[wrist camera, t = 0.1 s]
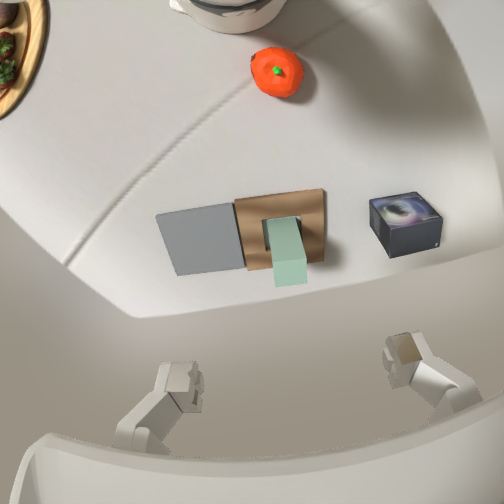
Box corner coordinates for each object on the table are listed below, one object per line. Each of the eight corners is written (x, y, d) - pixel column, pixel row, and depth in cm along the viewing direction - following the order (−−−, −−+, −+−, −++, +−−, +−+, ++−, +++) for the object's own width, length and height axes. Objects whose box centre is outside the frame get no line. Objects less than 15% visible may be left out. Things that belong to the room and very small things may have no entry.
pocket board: (234, 199, 50) (234, 202, 49) (321, 188, 49) (323, 191, 48) (247, 266, 59) (247, 270, 58) (322, 257, 58) (323, 261, 57)
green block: (267, 220, 52) (272, 262, 43) (294, 216, 52) (306, 258, 42) (270, 243, 55) (275, 287, 46) (296, 239, 55) (307, 283, 45)
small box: (417, 188, 49) (445, 216, 40) (415, 217, 52) (440, 248, 44) (368, 197, 50) (391, 228, 41) (369, 227, 54) (389, 261, 45)
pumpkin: (268, 102, 41) (266, 110, 36) (243, 58, 36) (237, 60, 31) (311, 84, 38) (315, 90, 33) (287, 39, 34) (288, 37, 29)
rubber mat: (156, 214, 51) (155, 217, 50) (232, 202, 50) (232, 204, 49) (177, 273, 59) (177, 275, 59) (244, 265, 58) (244, 267, 58)
